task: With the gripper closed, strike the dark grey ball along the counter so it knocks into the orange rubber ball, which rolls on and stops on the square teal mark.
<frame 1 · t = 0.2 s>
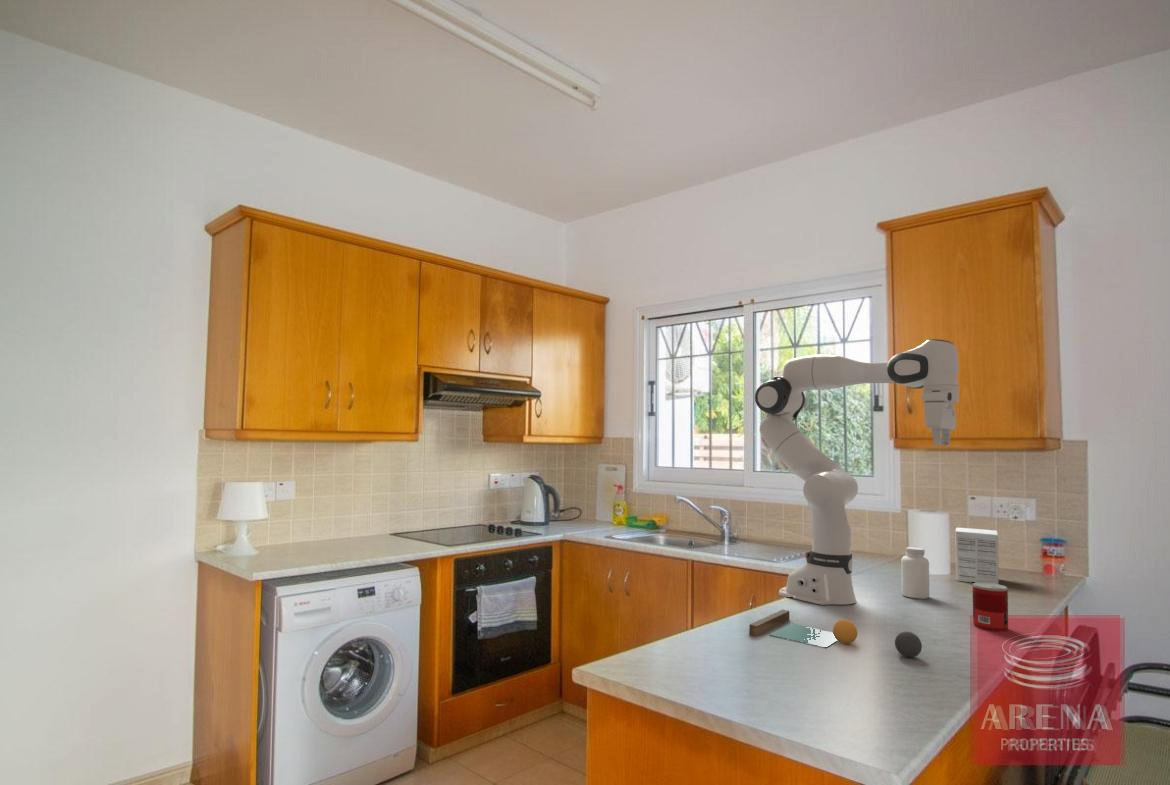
hand: (941, 445, 187), 48 cm above the counter, tool pointing down, fingers open, 8 cm apart
pill bottle: (915, 596, 211), on the counter
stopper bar: (770, 627, 172), on the counter
dark grey ball: (908, 644, 151), on the counter
orange ball: (845, 631, 160), on the counter
teal mark: (808, 635, 166), on the counter
canned food: (990, 628, 177), on the counter
supplement box: (977, 580, 238), on the counter
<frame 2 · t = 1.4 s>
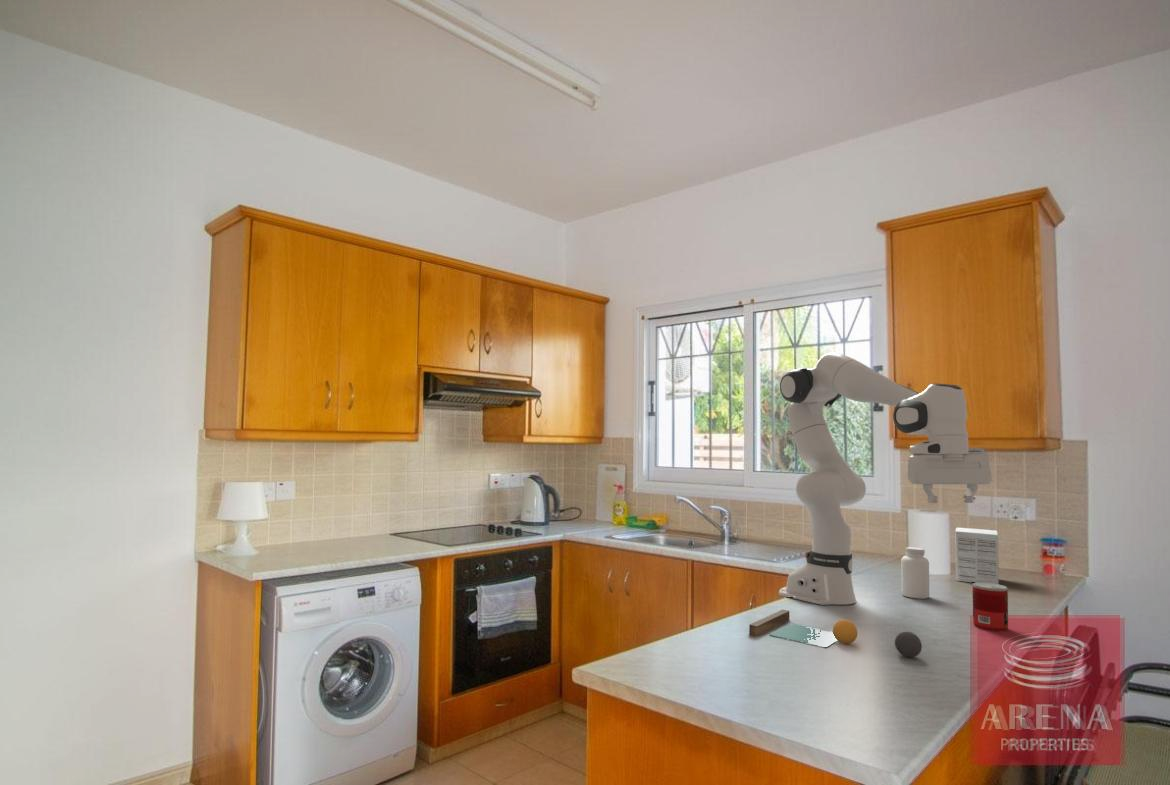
hand: (950, 502, 166), 34 cm above the counter, tool pointing down, fingers open, 8 cm apart
nothing on the counter moved.
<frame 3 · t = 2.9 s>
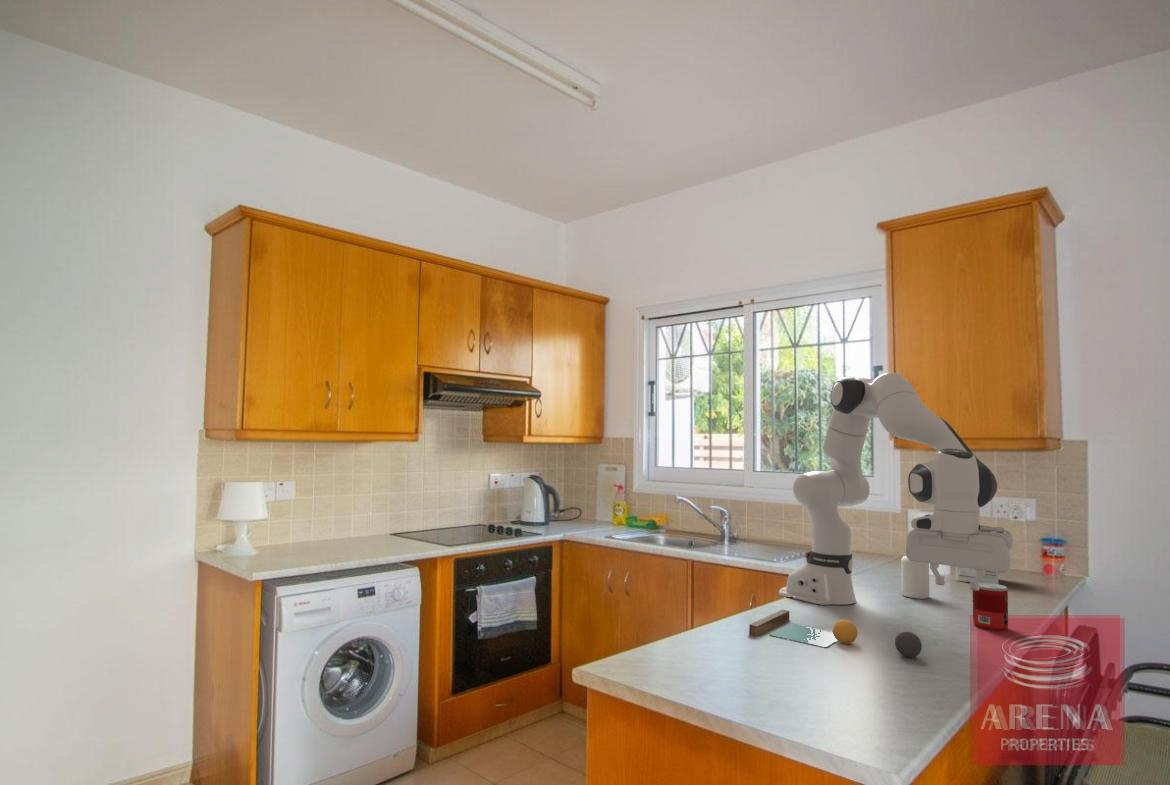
hand: (957, 587, 146), 17 cm above the counter, tool pointing down, fingers open, 5 cm apart
nothing on the counter moved.
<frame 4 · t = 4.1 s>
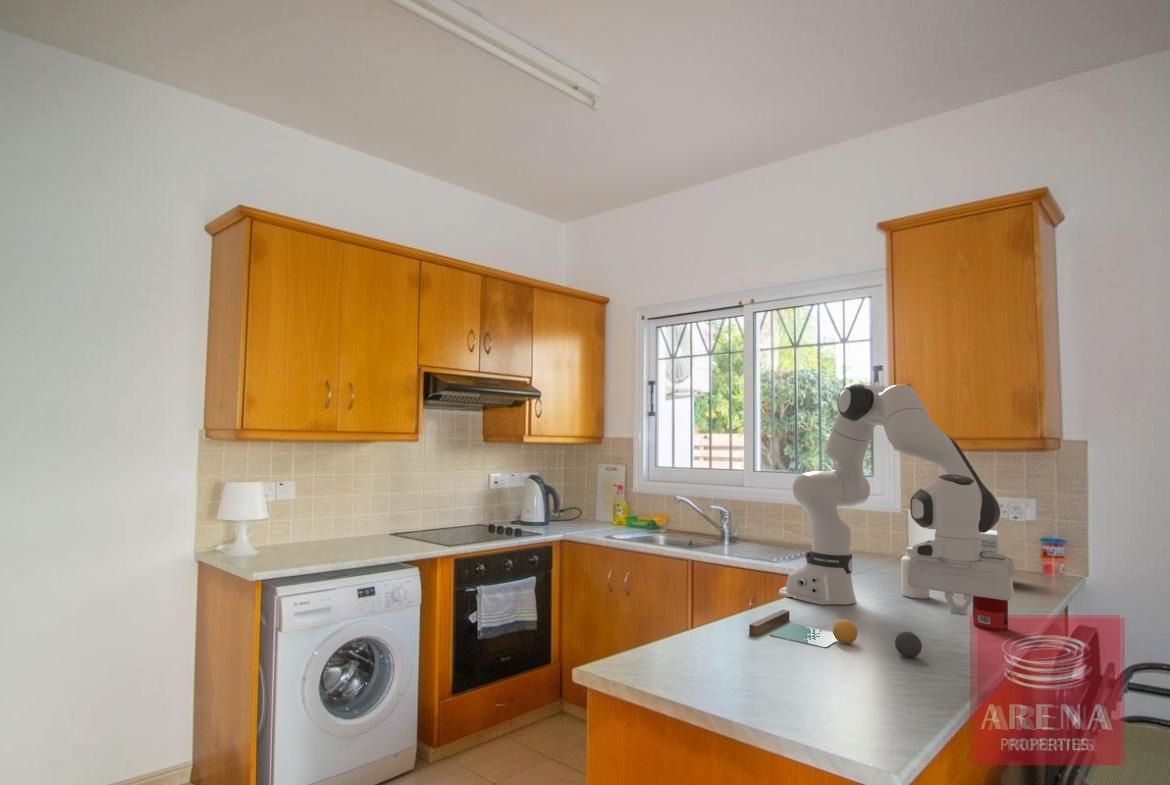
hand: (959, 614, 145), 11 cm above the counter, tool pointing down, fingers closed
nothing on the counter moved.
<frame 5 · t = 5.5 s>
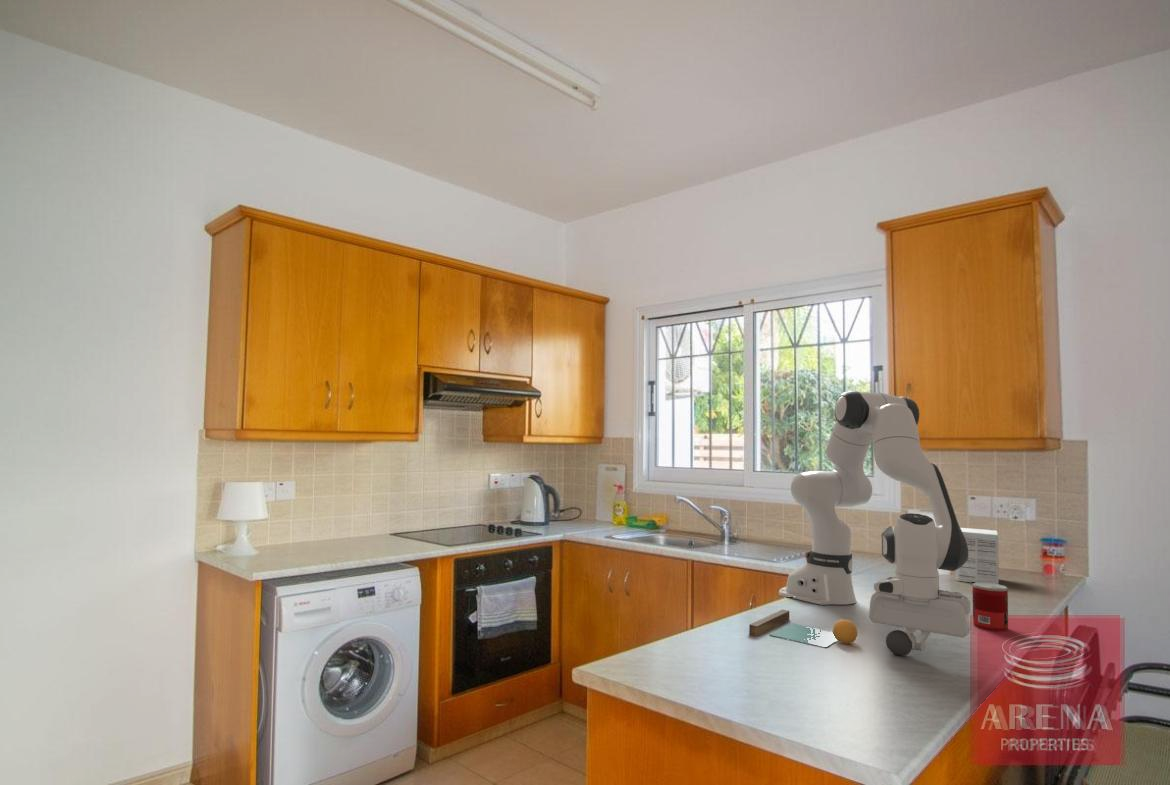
hand: (918, 649, 150), 2 cm above the counter, tool pointing down, fingers closed
dark grey ball: (899, 642, 152), on the counter, touching gripper
everything else where it was.
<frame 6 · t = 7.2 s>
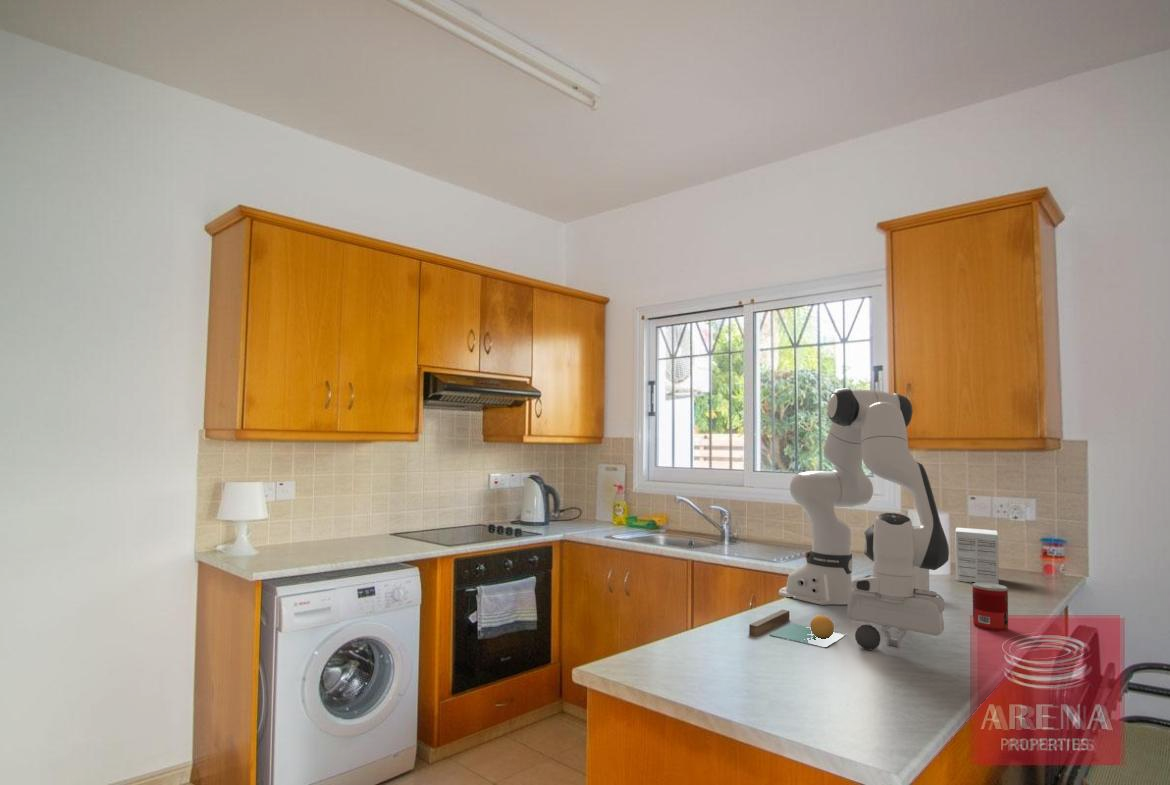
hand: (894, 646, 153), 2 cm above the counter, tool pointing down, fingers closed
dark grey ball: (867, 637, 156), on the counter
orange ball: (822, 626, 164), on the counter
everything else where it was.
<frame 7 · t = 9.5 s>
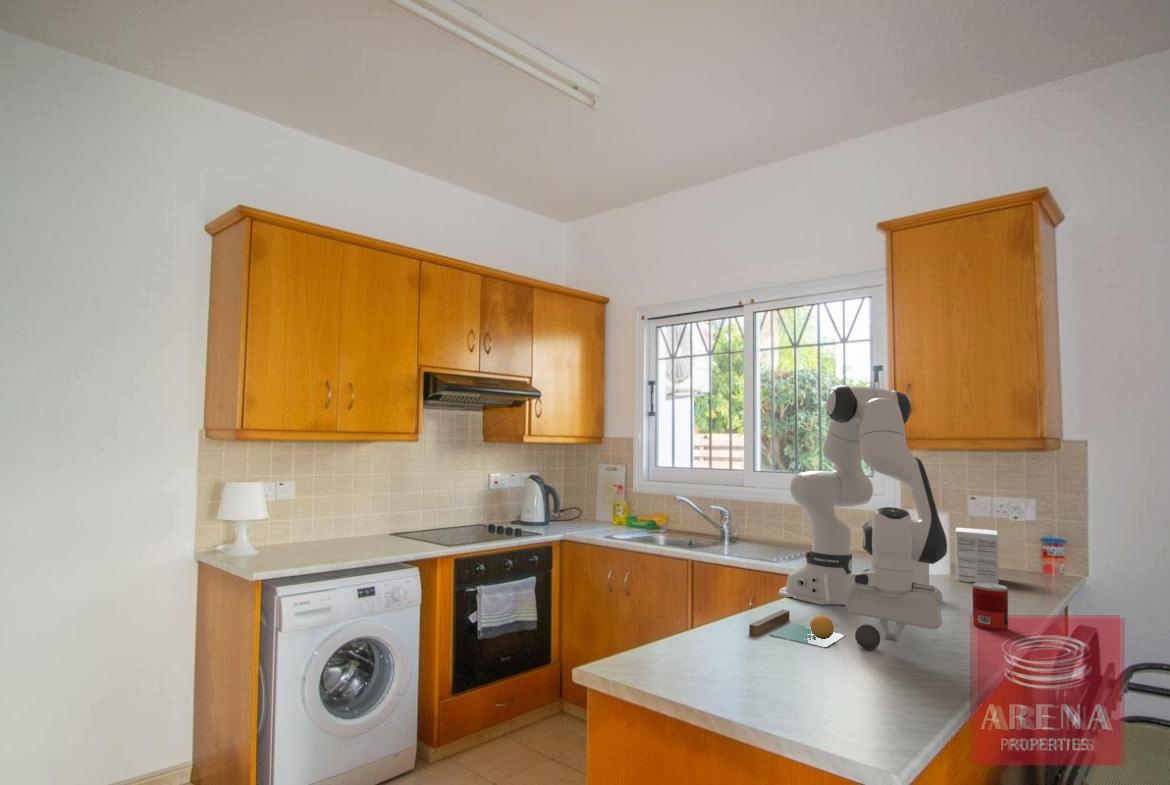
hand: (892, 640, 154), 3 cm above the counter, tool pointing down, fingers closed
nothing on the counter moved.
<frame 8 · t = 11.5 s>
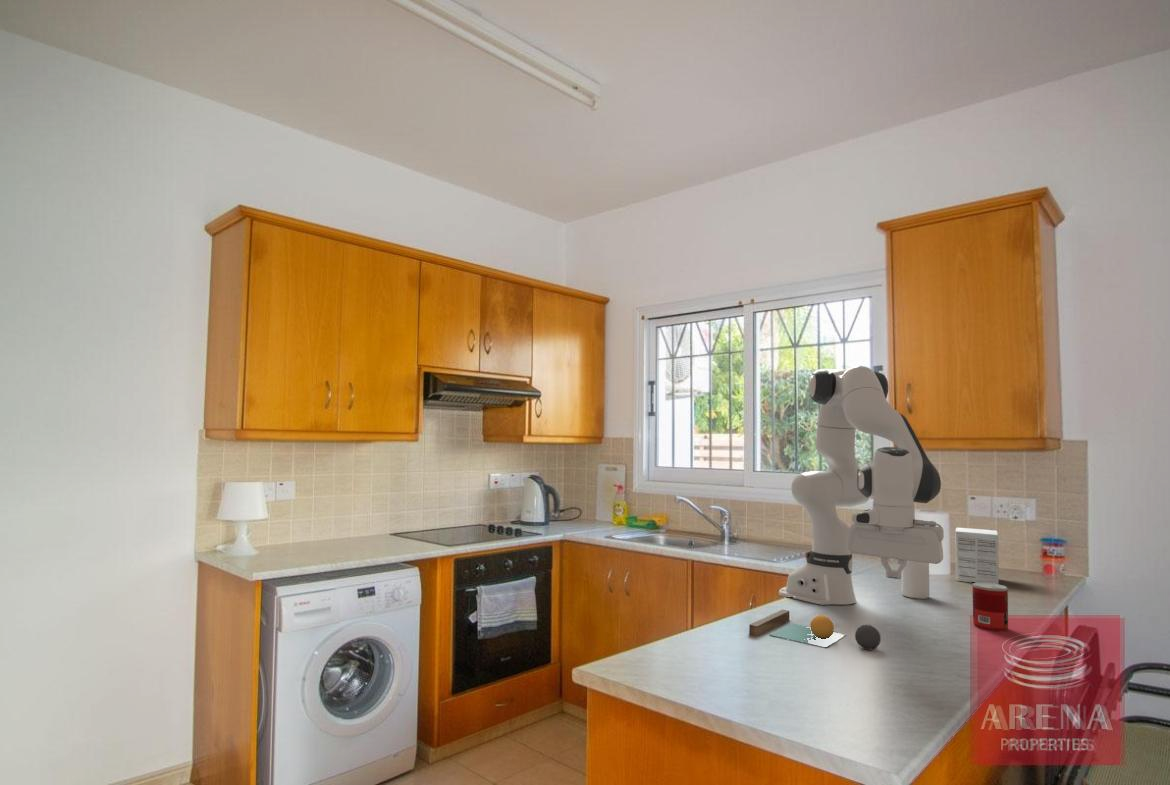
hand: (893, 578, 154), 17 cm above the counter, tool pointing down, fingers closed
nothing on the counter moved.
at the end: orange ball 3.4 cm from the teal mark (horizontally); orange ball never touched the robot; dark grey ball first touched orange ball at 5.9 s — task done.
